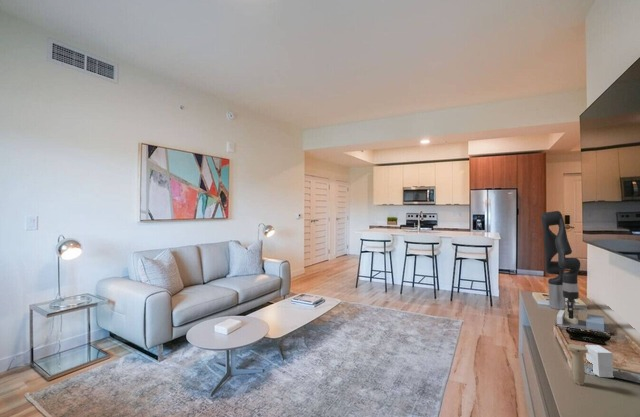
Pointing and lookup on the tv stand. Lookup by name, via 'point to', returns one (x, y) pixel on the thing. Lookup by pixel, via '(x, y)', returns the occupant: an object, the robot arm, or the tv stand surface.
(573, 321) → the birch block
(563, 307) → the robot arm
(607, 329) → the panel
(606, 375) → the small box
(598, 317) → the vise jaw
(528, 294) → the tv stand surface
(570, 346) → the handle
